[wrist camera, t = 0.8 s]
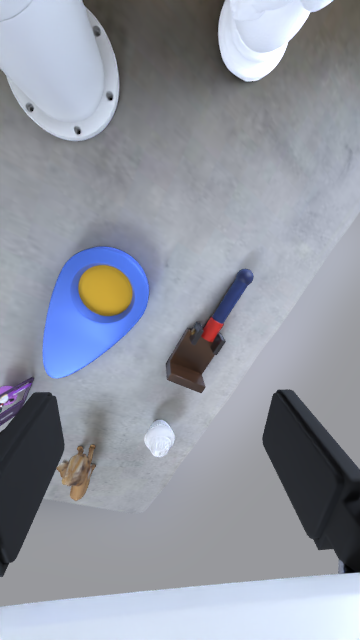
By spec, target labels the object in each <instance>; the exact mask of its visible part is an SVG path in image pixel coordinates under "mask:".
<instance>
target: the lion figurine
mask: <svg viewBox="0 0 360 640" xmlns="http://www.w3.org/2000/svg"><path fill="white" fill-rule="evenodd" d="M95 447H96V446H95V445H90V448H89V454H88V456H86V455H85V454H83V451H84V450H83V447H82V446H79V447H78V448H77V450H78V454H77V455H75V456H72V457H71V458H70V461H69V462H68V461H66V460H64V461H63V462H62V463H61V464H60V465H59V466H58V467H57V468H56V469H57V470H58V471H59V472H60V474H61V477H62V478H63V479H62V484H63V485H67V486H72V487H71V492H70V497H71V498H72V499H74V500H75V501H77V500H79V499H81V498H82V497H83V496H84V494H85V492H86V490H87V488H88V485H89V482H90V476H91V474H92V471H93V470H94V468H95V467H96V465H95V464H92V465H91V461H92V456H93V451H94V449H95ZM90 465H91V466H90Z"/></svg>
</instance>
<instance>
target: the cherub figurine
mask: <svg viewBox="0 0 360 640" xmlns="http://www.w3.org/2000/svg"><path fill="white" fill-rule="evenodd" d="M332 1H333V0H225V2H224V5H223V7H222V10H221V14H220V19H219V26H218V40H219V47H220V52H221V56H222V59H223V61H224V63H225V64H226V67H227V68H228V69H229V70H230V72H232V73H233V74H234V75H236V76H237V77H239V78H241V79H243V80H244V81H248V82H249V81H258V80H259V79H261V78H262V77H264V76H265V75H267V74H268V73H270V72H271V71H272V70H273V69H274V68H275V66H276V65H277V64H278V63H279V61H280V59H281V58H282V56H283V54H284V52H285V49H286V46H287V43H288V41H289V40H290V39H291V38H292V37H293V36H294V35H295V34H296V33H297V32H298V31H299V29H300V28H301V27H302V25H303V24H304V22H305V21H306V19H307V17H308V15H309V13H310V12H315V11H318V10H320V9H322V8H323V7H325V6H326V5H328V4H329V3H330V2H332Z"/></svg>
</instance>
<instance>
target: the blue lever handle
mask: <svg viewBox="0 0 360 640" xmlns="http://www.w3.org/2000/svg"><path fill="white" fill-rule="evenodd" d="M252 281H253V273H252V272H251V271H250V270H248V269H242V270H240V271H239V272H238V273H237V275H236V279H235V281H234V282H233V284H232V286H231V287H230V289H229V290H228V292H227V294H226V295H225V297H224V298H223V300H222V302H221V303H220V305H219V307H218V308H217V310H216V311H215V313H214V315H213V316H211V317H210V319H209V320H208V322H207V324H206V325H205V327H204V328H203V331H204V332H203V334H202V335H201V337H203V338H204V339H205V340H207V341H209V342H213V340H214V339H215V337H216V336H217V334H218V333H219V331H220V330H221V328H222V326H223V325H224V324H223V323H224V321H225V320H226V318H227V317H228V315H229V314H230V312H231V310H232V309H233V307H234V306H235V304H236V303H237V301H238V300H239V298H240V297H241V295H242V293H243V292H244V290H245V289H246V287H247V286H248V285H249V284H250V283H251V282H252Z"/></svg>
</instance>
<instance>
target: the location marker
mask: <svg viewBox="0 0 360 640" xmlns="http://www.w3.org/2000/svg"><path fill="white" fill-rule="evenodd" d="M148 297H149V284H148V280H147V277H146V275H145V272H144V271H143V269H142V267H141V266H140V265H139V263H138V262H137V261H136V260H135V259H134V258H132V257H131V256H130V255H128V254H127V253H125V252H123V251H121V250H119V249H116V248H112V247H105V246H100V247H93V248H89V249H86V250H83V251H81V252H79V253H77V254H75V255H74V256H72V257H71V258H70V259H69V260H68V261H67V262H66V264H65V265H64V267H63V268H62V270H61V272H60V274H59V276H58V279H57V282H56V284H55V287H54V290H53V293H52V297H51V300H50V305H49V309H48V313H47V318H46V324H45V330H44V339H43V363H44V368H45V371H46V373H47V374H48V375H49V376H50V377H52V378H62V377H65V376H68V375H70V374H72V373H75V372H76V371H78V370H80V369H82V368H83V367H85V366H87V365H88V364H90V363H91V362H92V361H94V360H95V359H97V358H98V357H99V356H101V355H102V354H103V353H105V352H106V351H107V350H108V349H110V348H111V347H112V346H113V345H114V344H116V343H117V342H118V341H119V340H120V339H121V338H122V337H123V336H124V335H125V334H126V333H127V332H128V331H129V330H130V329H131V328H132V327H133V326H134V325H135V324H136V323H137V322H138V320H139V319H140V318H141V316H142V315H143V313H144V311H145V309H146V306H147V303H148Z"/></svg>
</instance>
